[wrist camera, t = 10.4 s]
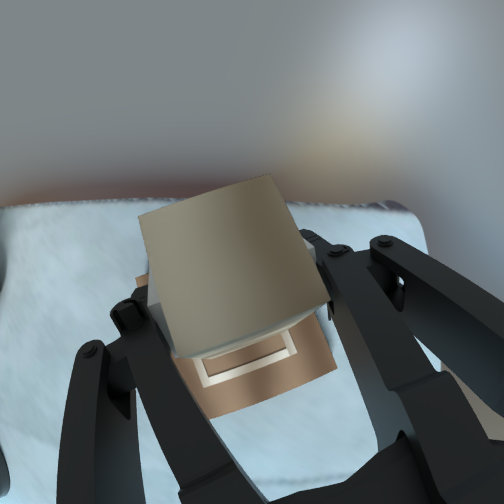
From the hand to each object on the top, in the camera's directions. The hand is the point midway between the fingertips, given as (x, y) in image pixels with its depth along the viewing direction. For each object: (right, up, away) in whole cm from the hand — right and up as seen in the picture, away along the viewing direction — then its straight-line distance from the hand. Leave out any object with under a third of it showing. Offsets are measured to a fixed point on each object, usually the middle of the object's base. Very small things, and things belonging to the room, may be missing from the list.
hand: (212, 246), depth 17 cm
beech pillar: (+1, -4, +2) cm, 5 cm away
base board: (0, -9, +14) cm, 17 cm away
